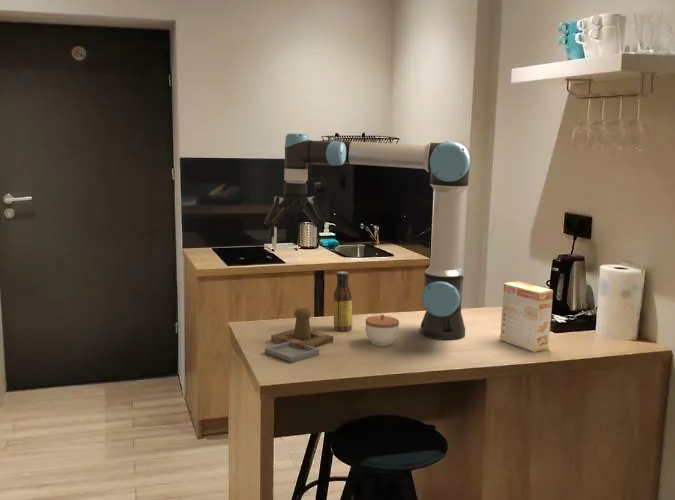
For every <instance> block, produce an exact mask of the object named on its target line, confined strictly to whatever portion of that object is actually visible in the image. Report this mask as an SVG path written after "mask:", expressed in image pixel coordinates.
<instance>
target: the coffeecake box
mask: <svg viewBox="0 0 675 500" xmlns="http://www.w3.org/2000/svg"><path fill="white" fill-rule="evenodd" d="M502 293H503V294H502V306H501V307H502V309H501V310H502V311H501V322H500V325H501V326H500V334H499V341H503V342H505V343H509V344H511V345H514V346H516V347H519V348H522V349H525V350H528V351H530V352H533V353H537V352H541V351H546V350H549V346H550V345H549V343H550V332H551V323H552V322H551V321H552V309H553V296H554V290H553V289H550V288H546V287H541V286H538V285H535V284H530V283H526V282H522V281H511V282H504V283H503V292H502Z"/></svg>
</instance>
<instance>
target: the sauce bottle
mask: <svg viewBox="0 0 675 500" xmlns="http://www.w3.org/2000/svg"><path fill="white" fill-rule="evenodd" d="M349 274H350V273H349V272H348V271H343V270H342V271H337V272H336V280H337V281H336V282H337V283H336V287H335V290H334V292H333V327H334V330H335V331H338V332H350V331H351V330H352V328H353V327H352V326H353V295H352V293H351V290H350V286H349V276H350V275H349Z"/></svg>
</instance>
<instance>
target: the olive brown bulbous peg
mask: <svg viewBox="0 0 675 500" xmlns="http://www.w3.org/2000/svg"><path fill="white" fill-rule="evenodd" d="M311 316H312V313H311V310H310V309H309V308H307V307H306V308H305V307H298V308H296V309H294V318H295V325H294V329H295V330H294V337H293V338H294V339H297V340H300V341H304V340H308V339H311V332H310V329H311V325H310V318H311Z"/></svg>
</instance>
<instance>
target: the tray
mask: <svg viewBox="0 0 675 500" xmlns="http://www.w3.org/2000/svg"><path fill="white" fill-rule="evenodd" d="M290 343H291V342H285V343H282V344H278V343H277V344H275V345H271V346H268V347H264V354H265V355H267V356H270V357H272V358H276V359H278V360H281V361H284V362H287V363H289V364H294V363H297V362H300V361H303V360H307V359H309V358H310V359H311V358H313V357H316V356H320V349H319V347H311V346H308V345H304V349H302V350H301V349H298V348H295V347H292V346H290Z"/></svg>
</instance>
